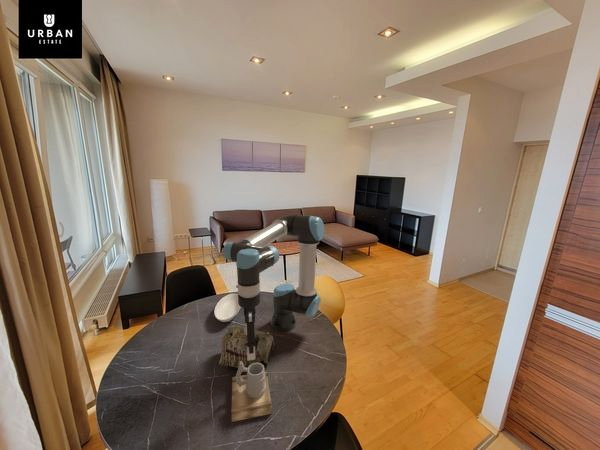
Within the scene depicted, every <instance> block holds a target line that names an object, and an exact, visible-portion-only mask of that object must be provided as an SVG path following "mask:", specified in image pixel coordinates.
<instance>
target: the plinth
mask: <svg viewBox="0 0 600 450" xmlns="http://www.w3.org/2000/svg"><path fill="white" fill-rule="evenodd" d="M264 372H265V383H266V390H265V393H264V394H263V395H262V396H261V397H259V398H250V397H249V396H248V394H247V392H246V385H247V384H245V385H242V386H241V387H239V386H238V384H237V383H236V376H232V377H231V379H232V380H231V381H232V383H231V423H234V422H239V421H243V420H247V419H252V418H258V417H261V416H266V415H271V414H272V412H273V409H272V405H273V403H272V400H271V391H270V386H269V385H270V384H269V379H268V371H266V370H264ZM241 378H242V379H243V380H245V379H247V374H244V375H243V374H242V375H241Z"/></svg>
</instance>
